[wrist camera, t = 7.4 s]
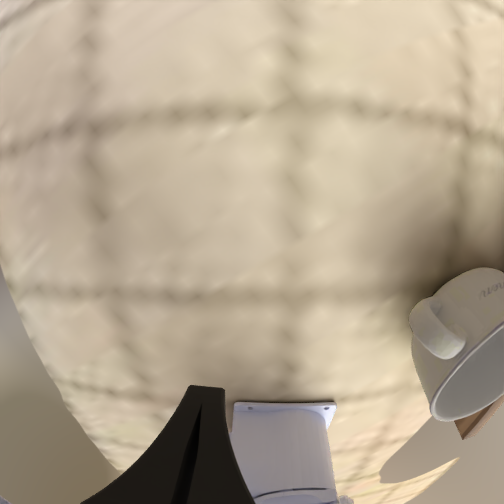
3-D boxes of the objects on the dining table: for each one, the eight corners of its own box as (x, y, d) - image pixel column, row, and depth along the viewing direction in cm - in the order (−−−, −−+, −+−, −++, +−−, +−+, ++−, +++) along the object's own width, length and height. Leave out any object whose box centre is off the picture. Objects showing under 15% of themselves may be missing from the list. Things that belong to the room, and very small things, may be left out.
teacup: (508, 295, 19) (555, 345, 12) (431, 374, 23) (461, 435, 16) (447, 195, 16) (527, 239, 9) (344, 308, 20) (376, 395, 13)
